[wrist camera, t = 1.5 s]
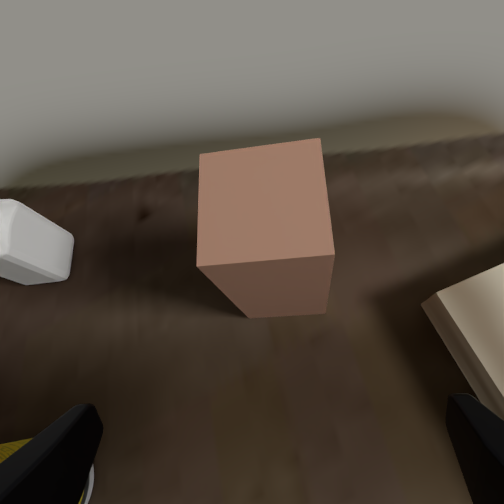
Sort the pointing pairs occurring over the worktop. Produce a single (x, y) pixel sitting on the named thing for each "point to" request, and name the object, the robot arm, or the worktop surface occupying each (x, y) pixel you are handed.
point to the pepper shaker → (32, 246)
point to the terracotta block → (267, 228)
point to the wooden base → (474, 332)
